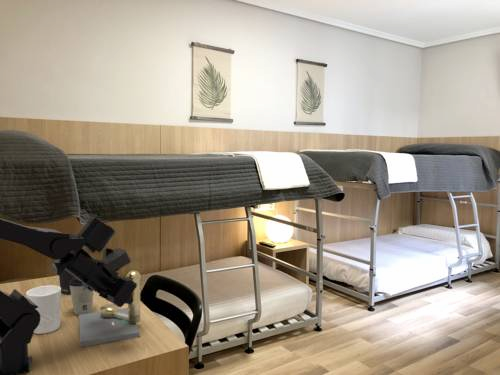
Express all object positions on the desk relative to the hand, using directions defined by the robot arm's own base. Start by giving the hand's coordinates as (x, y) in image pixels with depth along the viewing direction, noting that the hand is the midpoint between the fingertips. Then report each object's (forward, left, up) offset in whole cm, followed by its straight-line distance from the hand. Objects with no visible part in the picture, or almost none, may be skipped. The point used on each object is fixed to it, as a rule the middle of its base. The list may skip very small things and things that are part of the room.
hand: (131, 302), depth 106 cm
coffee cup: (+17, +11, -7) cm, 22 cm away
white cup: (+9, +20, -7) cm, 24 cm away
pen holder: (+37, +13, -7) cm, 40 cm away
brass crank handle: (+5, +2, -6) cm, 8 cm away
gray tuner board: (+4, +6, -7) cm, 10 cm away
